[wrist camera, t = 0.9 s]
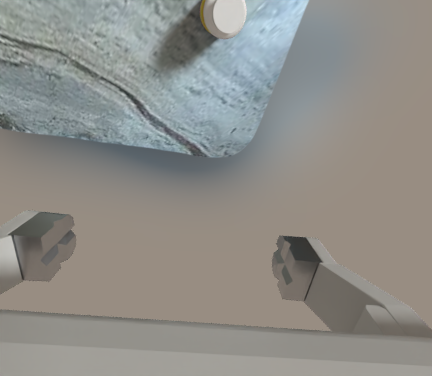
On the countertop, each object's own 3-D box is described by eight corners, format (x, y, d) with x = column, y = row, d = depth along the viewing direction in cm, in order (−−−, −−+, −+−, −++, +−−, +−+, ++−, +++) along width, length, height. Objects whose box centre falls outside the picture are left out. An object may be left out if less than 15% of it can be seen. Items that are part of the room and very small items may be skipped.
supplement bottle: (215, 42, 45) (224, 52, 35) (191, 10, 42) (195, 10, 32) (242, 15, 43) (261, 17, 33) (220, -22, 40) (233, -32, 29)
